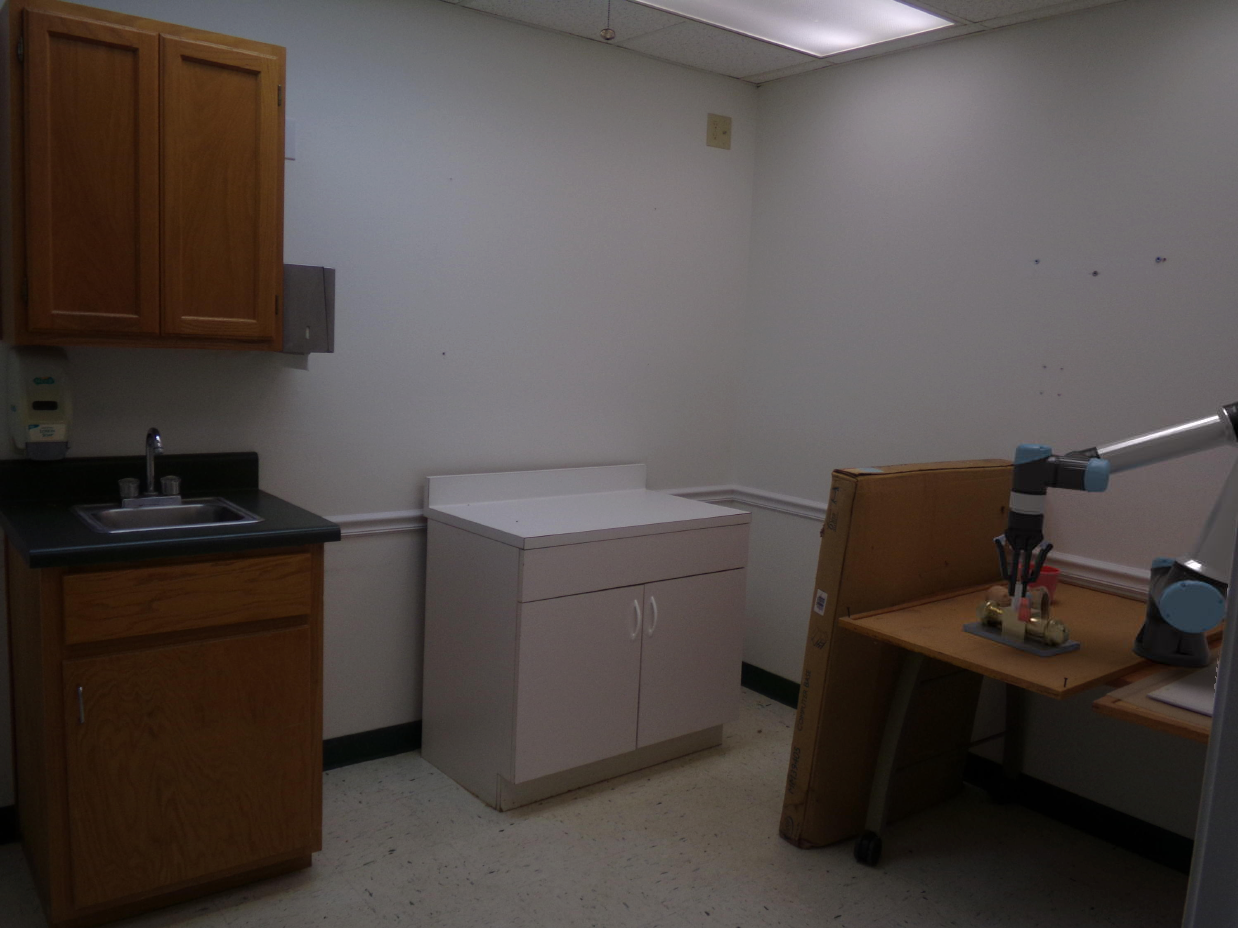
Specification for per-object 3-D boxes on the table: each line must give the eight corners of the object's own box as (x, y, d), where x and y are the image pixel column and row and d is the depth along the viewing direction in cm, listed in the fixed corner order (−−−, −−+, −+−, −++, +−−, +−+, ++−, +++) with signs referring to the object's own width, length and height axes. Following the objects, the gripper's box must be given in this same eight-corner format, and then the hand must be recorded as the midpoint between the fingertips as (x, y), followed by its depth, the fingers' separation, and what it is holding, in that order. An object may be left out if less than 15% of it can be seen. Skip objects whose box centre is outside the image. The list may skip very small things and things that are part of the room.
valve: (1079, 648, 214) (1083, 617, 214) (1044, 657, 207) (1047, 625, 206) (997, 623, 233) (1000, 594, 232) (962, 630, 226) (965, 600, 225)
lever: (1030, 607, 220) (1032, 592, 220) (1032, 624, 205) (1033, 609, 205) (1014, 605, 221) (1016, 590, 221) (1015, 622, 207) (1016, 606, 206)
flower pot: (1064, 607, 251) (1068, 573, 250) (1024, 605, 251) (1028, 571, 250) (1047, 597, 262) (1050, 564, 260) (1009, 595, 262) (1012, 562, 260)
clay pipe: (999, 641, 230) (1062, 631, 225) (989, 601, 229) (1052, 590, 225) (990, 619, 248) (1048, 608, 243) (980, 582, 247) (1039, 571, 243)
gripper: (1052, 510, 211) (1041, 608, 214) (993, 505, 214) (983, 602, 217) (1060, 516, 204) (1048, 617, 207) (999, 511, 206) (988, 611, 210)
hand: (1015, 610), depth 212 cm, fingers closed
